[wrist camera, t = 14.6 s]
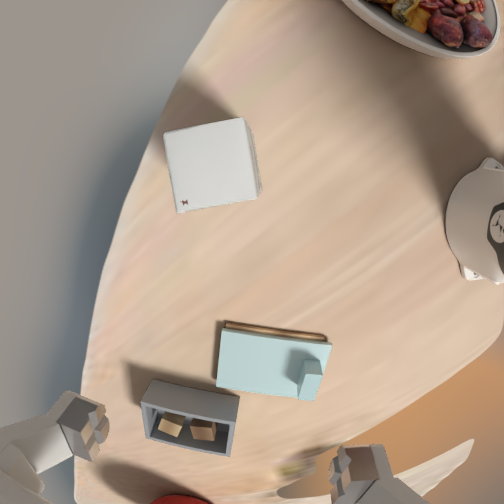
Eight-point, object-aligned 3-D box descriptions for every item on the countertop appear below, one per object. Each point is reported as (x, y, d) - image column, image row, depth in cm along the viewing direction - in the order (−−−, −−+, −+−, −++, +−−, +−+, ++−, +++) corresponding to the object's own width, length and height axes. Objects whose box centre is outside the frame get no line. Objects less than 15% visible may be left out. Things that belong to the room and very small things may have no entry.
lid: (331, 342, 41) (336, 359, 37) (313, 395, 44) (316, 414, 40) (222, 327, 42) (217, 344, 38) (216, 383, 45) (212, 401, 40)
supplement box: (264, 191, 37) (258, 202, 25) (205, 200, 38) (173, 215, 26) (255, 132, 35) (245, 114, 23) (196, 143, 36) (159, 132, 24)
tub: (239, 396, 46) (235, 422, 40) (233, 432, 48) (229, 456, 43) (152, 378, 46) (140, 401, 40) (155, 416, 49) (145, 438, 43)
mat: (324, 335, 42) (324, 337, 41) (305, 395, 45) (305, 398, 44) (226, 322, 42) (225, 324, 41) (219, 384, 45) (219, 387, 45)
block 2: (216, 408, 46) (211, 428, 41) (218, 421, 47) (214, 440, 42) (196, 406, 46) (190, 425, 42) (199, 419, 47) (193, 438, 43)
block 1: (188, 407, 46) (181, 426, 42) (183, 418, 47) (177, 437, 43) (169, 399, 46) (161, 418, 42) (165, 411, 47) (157, 429, 43)
